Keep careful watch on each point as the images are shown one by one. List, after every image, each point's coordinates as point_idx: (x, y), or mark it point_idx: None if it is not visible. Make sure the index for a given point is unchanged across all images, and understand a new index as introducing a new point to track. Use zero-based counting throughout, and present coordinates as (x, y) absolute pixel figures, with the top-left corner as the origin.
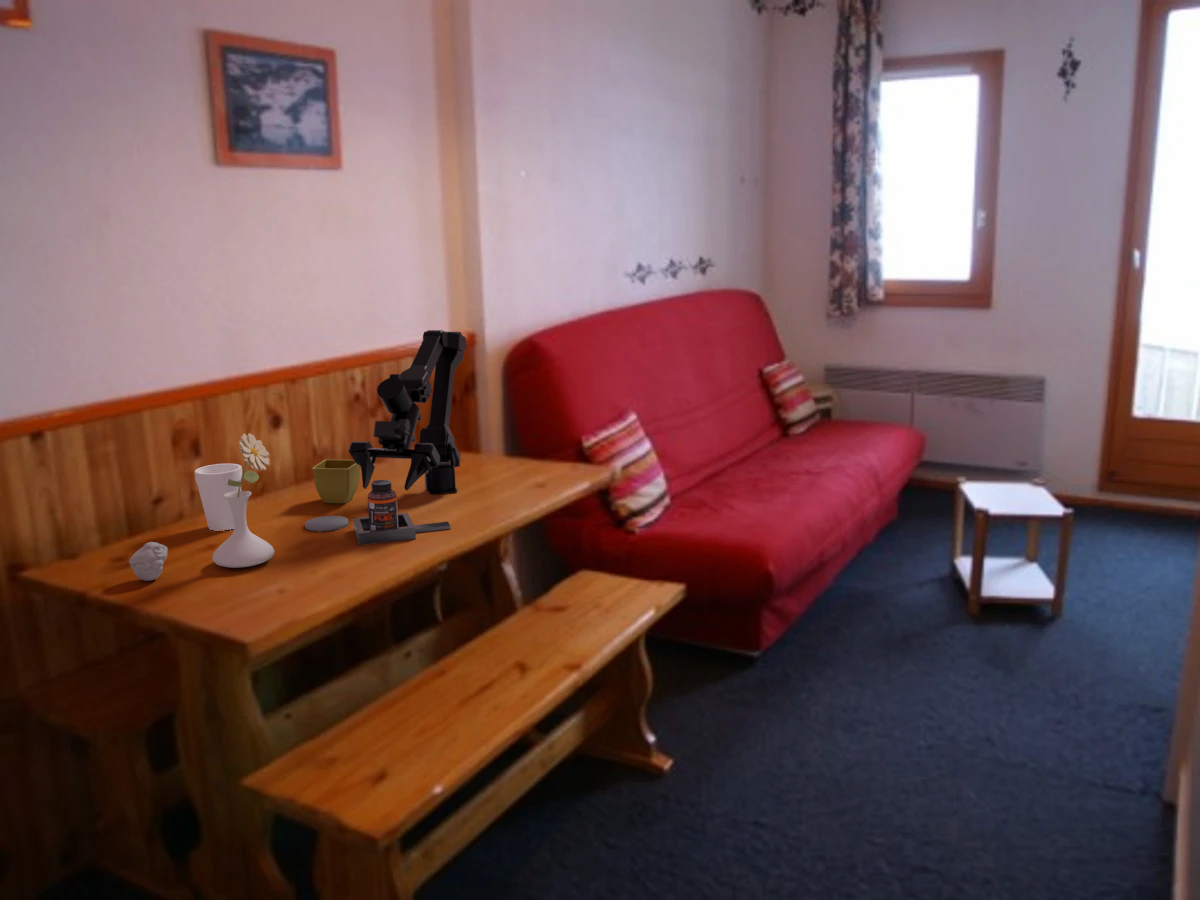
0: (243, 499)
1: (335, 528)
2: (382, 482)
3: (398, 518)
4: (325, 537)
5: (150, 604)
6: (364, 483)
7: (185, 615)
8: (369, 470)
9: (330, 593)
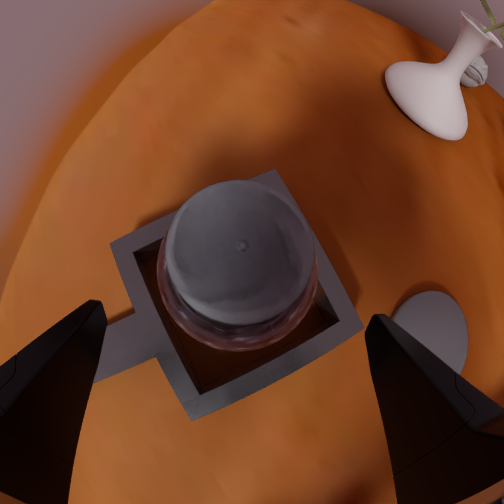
0: (461, 18)
1: (396, 313)
2: (226, 233)
3: (215, 385)
4: (389, 249)
5: (400, 28)
6: (385, 321)
7: (347, 3)
8: (418, 441)
9: (219, 15)
